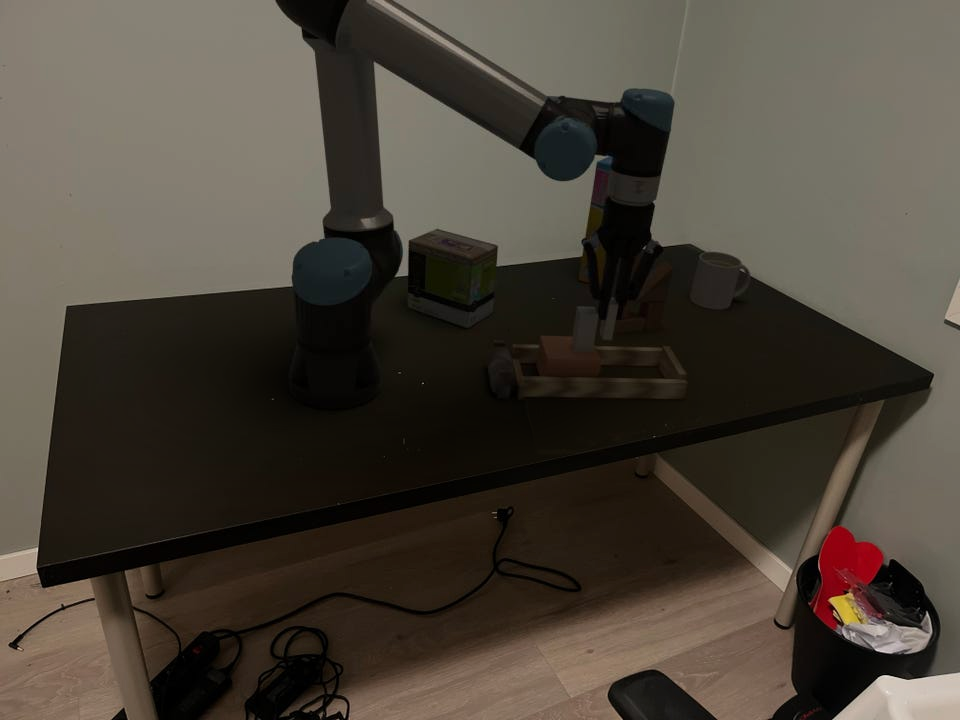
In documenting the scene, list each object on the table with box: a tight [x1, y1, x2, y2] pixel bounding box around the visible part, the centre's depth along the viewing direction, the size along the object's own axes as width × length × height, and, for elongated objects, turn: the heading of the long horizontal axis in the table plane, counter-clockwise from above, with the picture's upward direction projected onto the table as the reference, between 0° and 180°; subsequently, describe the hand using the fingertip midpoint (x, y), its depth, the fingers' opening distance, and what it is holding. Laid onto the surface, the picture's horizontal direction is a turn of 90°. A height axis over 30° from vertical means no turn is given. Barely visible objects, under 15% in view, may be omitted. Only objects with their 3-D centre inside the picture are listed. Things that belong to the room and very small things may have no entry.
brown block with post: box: [536, 305, 602, 378], centre depth 119 cm, size 9×9×13 cm
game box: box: [578, 156, 620, 287], centre depth 162 cm, size 21×6×27 cm, turn 149°
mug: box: [689, 251, 751, 311], centre depth 155 cm, size 11×10×10 cm
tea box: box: [407, 228, 499, 329], centre depth 141 cm, size 15×10×15 cm, turn 58°
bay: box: [485, 339, 688, 402], centre depth 122 cm, size 33×12×5 cm, turn 95°
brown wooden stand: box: [612, 250, 674, 334], centre depth 138 cm, size 4×11×18 cm, turn 107°
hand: (605, 336), depth 119 cm, fingers closed
